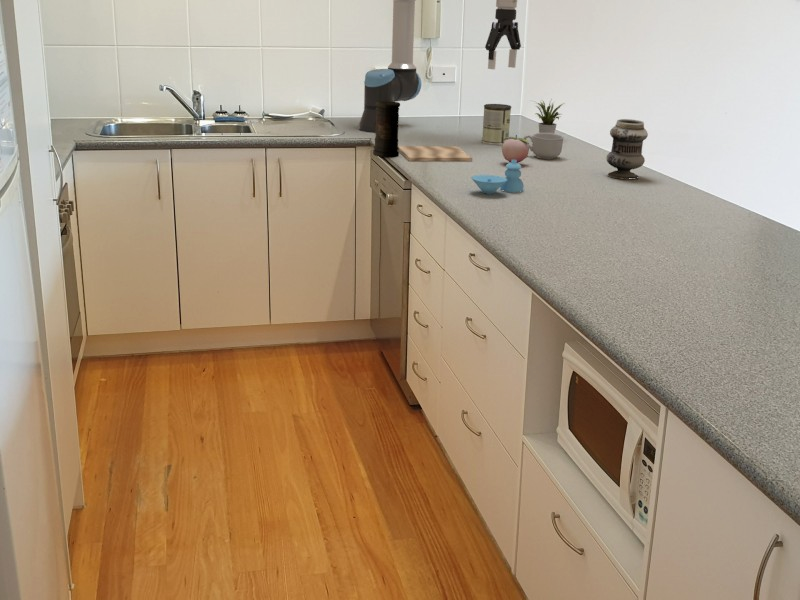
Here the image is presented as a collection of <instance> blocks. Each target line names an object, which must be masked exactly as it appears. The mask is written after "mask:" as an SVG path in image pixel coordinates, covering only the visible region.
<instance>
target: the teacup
mask: <svg viewBox="0 0 800 600" xmlns="http://www.w3.org/2000/svg"><path fill="white" fill-rule="evenodd" d="M564 137H565V136H563V135H562V134H559V133H558V134H557V133H554V134H553V133H539V132H535V133H534V134H533V135H532V134H526V135H524V137H523V139H525V140H527V138H530V140H531V143H532V145H530V144H528V146H529V151H531V152H532V153H533V154H534V156H535V157H536V158H538V159H543V160H555V159H556V158H557V157H559V156H561V153H562V149H563V144H564V143H563V142H564Z"/></svg>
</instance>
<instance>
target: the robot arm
mask: <svg viewBox="0 0 800 600" xmlns="http://www.w3.org/2000/svg"><path fill="white" fill-rule="evenodd" d="M392 1H393V2H392V3H393V6H392V40H391V41H392V42H391V62H390V64H389V65H388V66H387V68H380V69H379V68H378V69H371V70H369V71H367V72H366V73H365V74H364V75H365V76H364V81H363V83H364V84H363V85H364V88H363V89H364V91H363V92H364V93H363V94H364V95H363V96H364V97H363V99H364V103H363V105H364V106H363V112H362V115H361V117H360V122H359V125H358V128H359V130H360V131H363V132H369V133H376V114H377V109H376V107H377V106H376V102H378V101H391V102H407V101H411V100H414V99H415V98H416V97H417V96H418V95H419V94H420V92H421V90H422V78H421V77H420V75H419V73H418V72H417V66H415V64H414V41H415V38H414V36H415V35H414V33H415V10H416V9H415V7H416V6H415V5H416V0H392ZM517 4H518V0H496V2H495V6H496V9H495V19H496V20H497V21H495V22H494V21H493V22H492V23H491V29H490V31H489V35H488V38H487V41H486V44H485V46H484V47H485V49H486V51H488V57H487V58H488V63H487V70H496V62H497V50H496V49H497V47H498V45H499V43H500V41H501V39H502V38H503V37H504V36H506V39H507V41H508V43H509V46H510V49H509V53H508V64H507V65H508V66H507V67H508V68H513V69H515V68H516V63H517V62H516V61H517V51H518V50H520V48H521V47H522V44H521V43H522V42H521V39H520V33H519V23H518V22H517V21H515V20H516V19H517V10H516V8H517V7H518V6H517Z"/></svg>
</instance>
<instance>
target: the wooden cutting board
mask: <svg viewBox="0 0 800 600" xmlns="http://www.w3.org/2000/svg"><path fill="white" fill-rule="evenodd" d="M398 148H399V150H397V151H398V152H399V154H401V155H402V156H403V157H404V158H405V159H406V160H407V161H408V162H473V157H472V156H471V155H469V154H468V153H467V152H465V151H463V150H462V149H461V148H460V147H458V146H453V145H452V146H446V145H445V146H443V145H440V146H439V145H437V146H434V145H429V146H428V145H398Z"/></svg>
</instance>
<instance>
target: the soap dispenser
mask: <svg viewBox="0 0 800 600" xmlns="http://www.w3.org/2000/svg"><path fill="white" fill-rule="evenodd" d="M516 162H517V160H512V161H511V162H508V163H507V164H506V165H505V168H506V170H505V171H504V175H505V177H504V176H500V175H492V174H478V175H474V176H470V177H471V180H472V181H473V182H474V183H475V185H476V186H477V187H478V188H479V189H480V190H481V192H482V193H483V194H484V193H487V194H486V195H493V194H494V193H496V191H497V190H499V189H502V190H504V191H510V192H509V193H511V192H519V193H521V192H520V191H523V192H524V185H525V184H524V182H523V180H522V179H521V176H522V171H521V169H522V165H521V164H520V163H516ZM504 191H503V192H504ZM492 193H493V194H492Z"/></svg>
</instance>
